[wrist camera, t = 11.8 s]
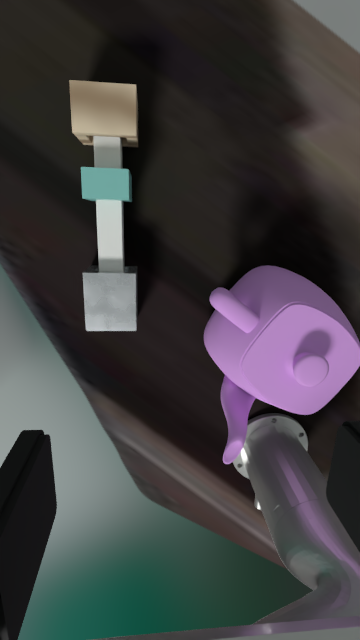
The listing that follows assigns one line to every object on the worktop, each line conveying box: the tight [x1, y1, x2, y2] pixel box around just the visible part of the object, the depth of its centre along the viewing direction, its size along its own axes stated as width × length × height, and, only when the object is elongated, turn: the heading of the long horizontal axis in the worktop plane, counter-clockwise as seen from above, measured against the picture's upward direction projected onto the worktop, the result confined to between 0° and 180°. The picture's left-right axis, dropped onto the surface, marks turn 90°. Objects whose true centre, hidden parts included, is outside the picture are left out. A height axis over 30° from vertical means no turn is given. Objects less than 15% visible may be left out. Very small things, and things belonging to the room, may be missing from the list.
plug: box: [81, 136, 132, 272], centre depth 38 cm, size 18×5×7 cm, turn 178°
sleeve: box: [83, 265, 138, 331], centre depth 43 cm, size 7×6×6 cm
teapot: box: [204, 265, 360, 464], centre depth 42 cm, size 23×21×15 cm
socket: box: [69, 80, 138, 147], centre depth 37 cm, size 4×6×6 cm
